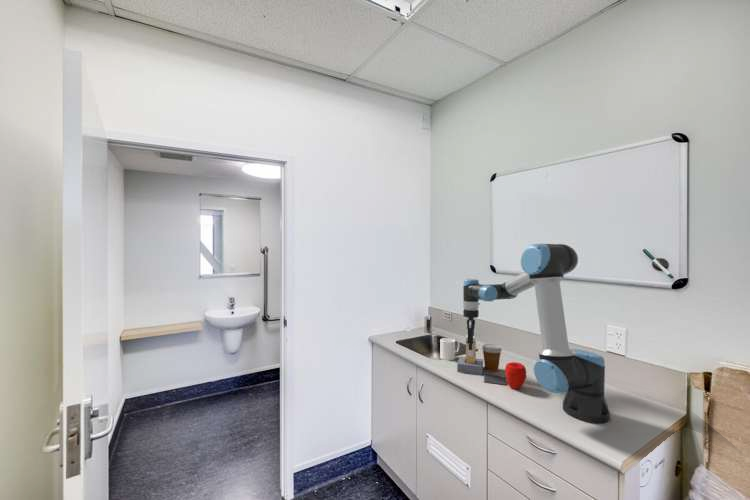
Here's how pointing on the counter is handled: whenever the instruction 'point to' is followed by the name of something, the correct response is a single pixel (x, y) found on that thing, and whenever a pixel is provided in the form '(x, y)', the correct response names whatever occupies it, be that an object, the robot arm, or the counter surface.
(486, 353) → the disposable coffee cup
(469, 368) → the gray square block
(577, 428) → the counter surface
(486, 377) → the pad
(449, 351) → the cup
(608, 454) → the counter surface
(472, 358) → the tall drinking glass
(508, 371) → the apple
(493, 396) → the counter surface
